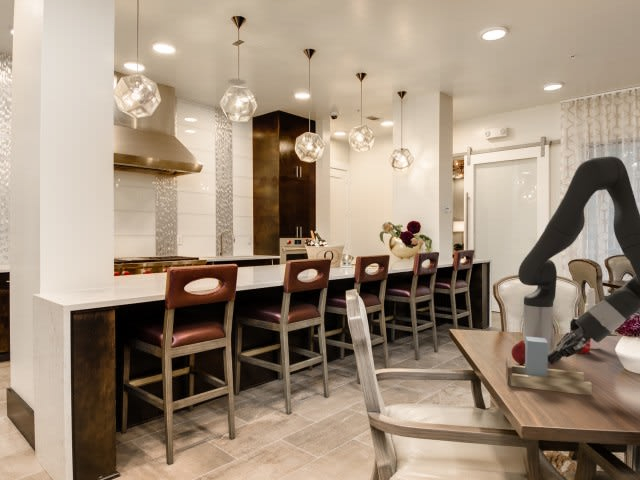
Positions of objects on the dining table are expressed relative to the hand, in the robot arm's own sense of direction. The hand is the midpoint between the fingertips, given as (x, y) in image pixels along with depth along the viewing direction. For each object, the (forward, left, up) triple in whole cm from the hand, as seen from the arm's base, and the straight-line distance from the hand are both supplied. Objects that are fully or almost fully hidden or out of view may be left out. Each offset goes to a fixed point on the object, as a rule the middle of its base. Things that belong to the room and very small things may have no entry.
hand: (548, 361), depth 122 cm
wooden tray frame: (0, 0, -6) cm, 6 cm away
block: (+2, -2, -5) cm, 6 cm away
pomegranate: (-9, -16, -7) cm, 20 cm away
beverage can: (-43, -20, -7) cm, 48 cm away
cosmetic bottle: (-53, -23, -7) cm, 58 cm away
